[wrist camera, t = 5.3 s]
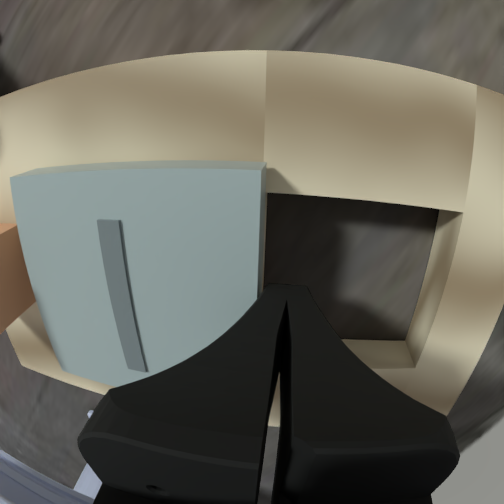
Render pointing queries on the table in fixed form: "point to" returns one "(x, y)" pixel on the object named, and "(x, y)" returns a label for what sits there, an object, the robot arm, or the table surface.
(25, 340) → the light wood flat board
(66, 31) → the table surface
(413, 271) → the table surface
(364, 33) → the table surface
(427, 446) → the robot arm
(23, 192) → the lid
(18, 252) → the block
